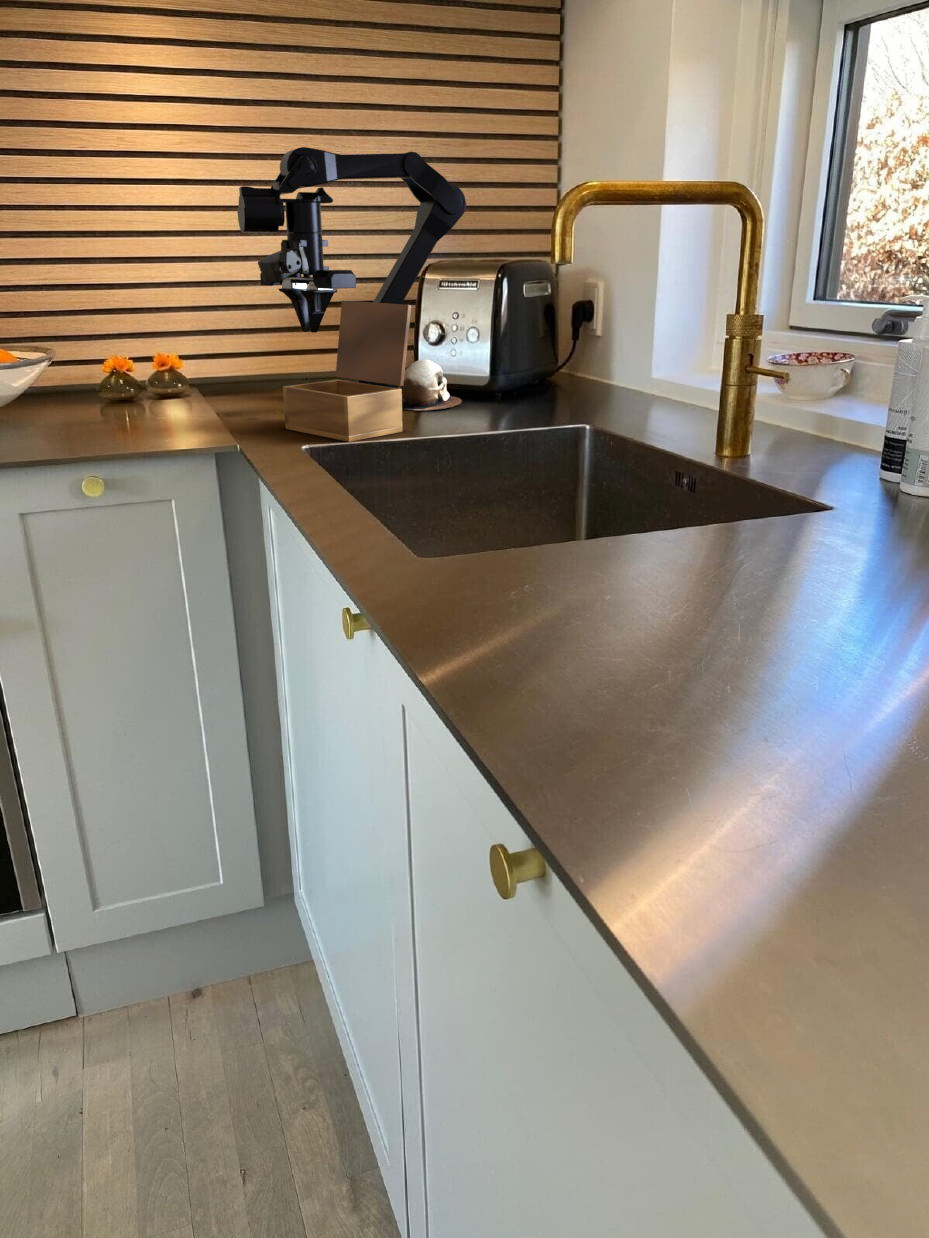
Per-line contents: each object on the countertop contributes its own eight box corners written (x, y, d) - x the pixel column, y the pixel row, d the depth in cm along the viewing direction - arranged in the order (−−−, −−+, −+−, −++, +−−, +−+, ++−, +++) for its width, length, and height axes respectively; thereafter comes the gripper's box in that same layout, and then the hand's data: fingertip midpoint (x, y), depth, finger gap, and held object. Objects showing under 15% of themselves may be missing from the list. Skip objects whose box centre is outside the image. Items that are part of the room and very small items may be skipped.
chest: (349, 442, 133) (347, 397, 131) (285, 428, 142) (282, 386, 140) (402, 431, 141) (401, 388, 138) (339, 419, 150) (337, 379, 147)
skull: (419, 390, 171) (449, 350, 164) (451, 434, 169) (482, 395, 162) (373, 396, 162) (402, 353, 156) (405, 442, 160) (436, 401, 154)
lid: (408, 305, 135) (411, 305, 136) (341, 300, 144) (345, 301, 145) (400, 386, 138) (403, 386, 138) (335, 376, 147) (338, 377, 148)
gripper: (230, 233, 155) (238, 331, 161) (301, 232, 143) (307, 339, 149) (284, 233, 162) (290, 327, 168) (356, 233, 151) (360, 334, 157)
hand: (310, 332), depth 160 cm, fingers closed
